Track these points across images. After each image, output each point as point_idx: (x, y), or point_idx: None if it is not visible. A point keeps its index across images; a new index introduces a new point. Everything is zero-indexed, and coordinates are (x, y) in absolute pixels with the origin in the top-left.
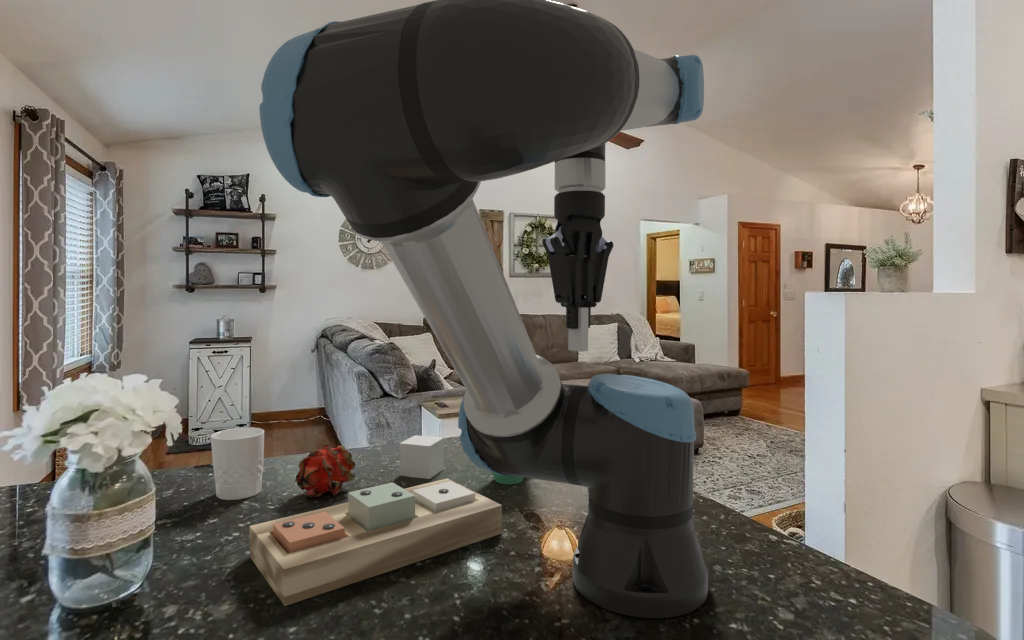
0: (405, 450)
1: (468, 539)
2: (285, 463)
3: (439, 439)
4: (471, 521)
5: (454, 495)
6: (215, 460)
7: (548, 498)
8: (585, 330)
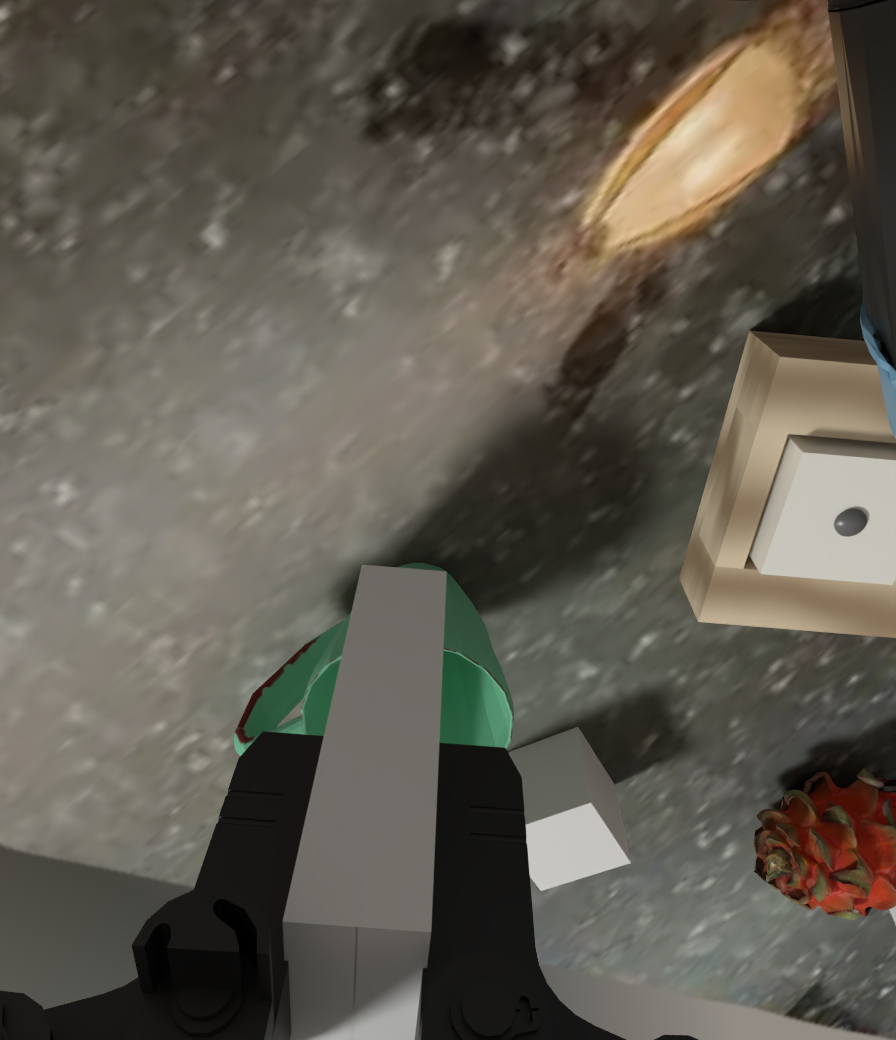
0: (619, 834)
1: None
2: (739, 968)
3: None
4: None
5: (857, 478)
6: None
7: (441, 421)
8: (376, 690)
